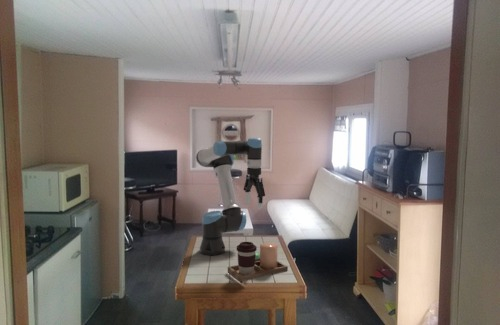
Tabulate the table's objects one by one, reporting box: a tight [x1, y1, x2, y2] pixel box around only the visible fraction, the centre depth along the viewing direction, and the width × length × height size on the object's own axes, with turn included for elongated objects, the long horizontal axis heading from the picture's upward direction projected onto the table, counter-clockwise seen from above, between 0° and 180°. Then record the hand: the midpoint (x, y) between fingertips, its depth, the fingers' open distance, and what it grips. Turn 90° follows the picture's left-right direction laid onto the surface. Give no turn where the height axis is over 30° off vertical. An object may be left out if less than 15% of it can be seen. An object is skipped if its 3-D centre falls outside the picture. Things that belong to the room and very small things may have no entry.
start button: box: [255, 252, 260, 258], centre depth 208 cm, size 5×5×3 cm
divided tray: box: [227, 260, 289, 284], centre depth 195 cm, size 14×27×3 cm, turn 119°
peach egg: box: [259, 242, 279, 270], centre depth 198 cm, size 9×9×12 cm
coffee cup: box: [236, 241, 258, 275], centre depth 191 cm, size 10×10×15 cm
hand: (253, 206), depth 207 cm, fingers open, 13 cm apart
